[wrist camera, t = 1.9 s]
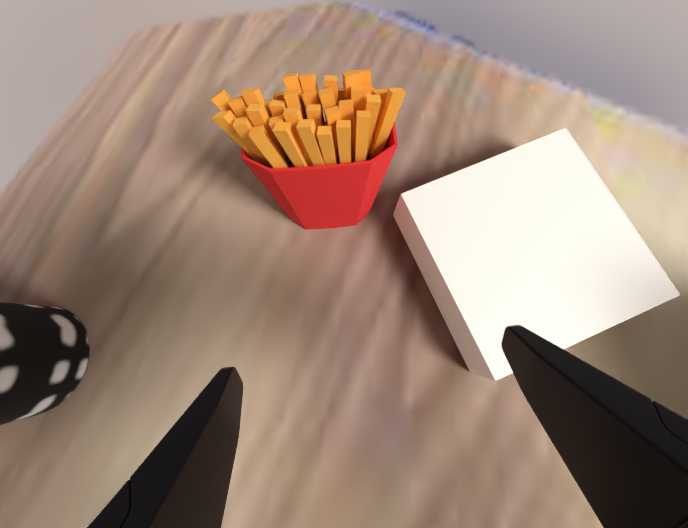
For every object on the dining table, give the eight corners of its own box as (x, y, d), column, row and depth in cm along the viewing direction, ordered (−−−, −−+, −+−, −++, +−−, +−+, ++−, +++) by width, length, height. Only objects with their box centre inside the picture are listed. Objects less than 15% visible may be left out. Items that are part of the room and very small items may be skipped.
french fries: (376, 180, 26) (401, 38, 13) (381, 225, 25) (414, 118, 12) (273, 188, 26) (203, 54, 13) (275, 233, 25) (200, 135, 12)
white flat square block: (469, 372, 22) (495, 380, 18) (392, 214, 25) (400, 193, 21) (625, 301, 23) (680, 295, 19) (533, 157, 26) (565, 127, 22)
